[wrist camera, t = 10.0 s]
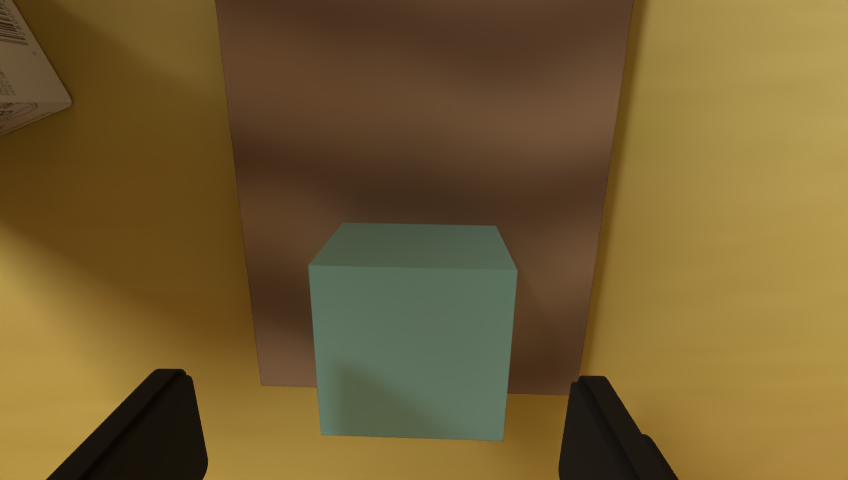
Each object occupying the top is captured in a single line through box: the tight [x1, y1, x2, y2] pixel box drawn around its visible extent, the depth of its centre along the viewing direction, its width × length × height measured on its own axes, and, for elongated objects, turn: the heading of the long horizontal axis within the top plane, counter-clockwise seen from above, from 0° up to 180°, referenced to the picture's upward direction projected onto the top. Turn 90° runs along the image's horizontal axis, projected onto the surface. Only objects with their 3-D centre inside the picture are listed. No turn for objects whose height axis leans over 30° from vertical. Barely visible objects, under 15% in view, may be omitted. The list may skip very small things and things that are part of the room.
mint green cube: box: [308, 223, 518, 441], centre depth 16 cm, size 6×6×5 cm
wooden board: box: [215, 0, 634, 395], centre depth 16 cm, size 20×15×5 cm
